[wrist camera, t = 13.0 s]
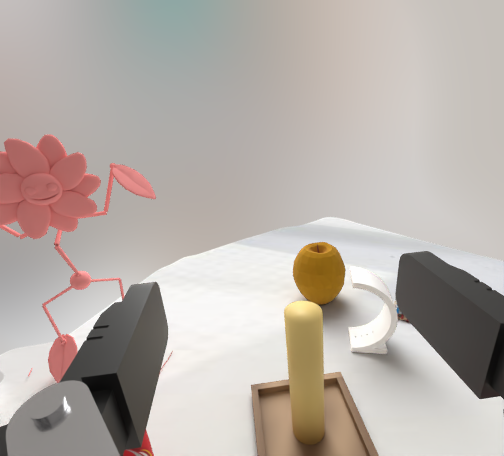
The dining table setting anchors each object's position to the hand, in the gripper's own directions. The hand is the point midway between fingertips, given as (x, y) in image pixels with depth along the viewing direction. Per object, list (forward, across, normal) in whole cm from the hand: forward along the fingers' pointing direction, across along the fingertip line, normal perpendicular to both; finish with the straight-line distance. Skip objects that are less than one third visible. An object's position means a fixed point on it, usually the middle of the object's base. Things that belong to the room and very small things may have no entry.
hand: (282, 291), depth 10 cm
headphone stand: (+26, -18, +29) cm, 43 cm away
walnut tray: (+14, -4, +29) cm, 33 cm away
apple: (+39, -14, +29) cm, 51 cm away
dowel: (+14, -4, +28) cm, 32 cm away
